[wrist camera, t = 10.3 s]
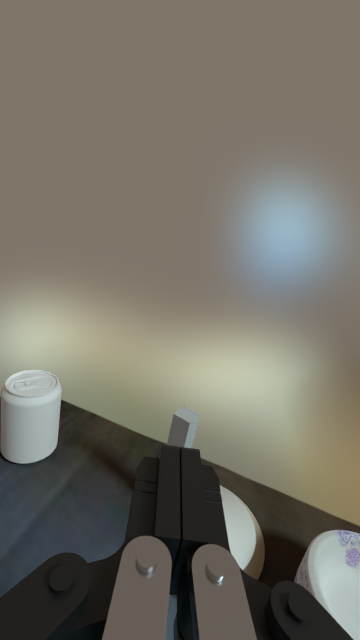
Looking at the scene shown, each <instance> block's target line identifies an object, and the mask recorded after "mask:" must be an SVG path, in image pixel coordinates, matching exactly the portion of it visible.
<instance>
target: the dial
mask: <svg viewBox="0 0 360 640" xmlns="http://www.w3.org/2000/svg"><path fill="white" fill-rule="evenodd" d="M199 416H200V415H199V414H197V413H196V412H194V411H192V410H190V409H188V408H187V407H185V406H184V407H182V408H181V409H180V410H178V411H177V412H175V413H174V415H173V419H172V424H171V429H170V433H169V438H168V442H167V445H171V446H178V447H179V448H180V447H185V448H192V444H193V440H194V436H195V432H196V428H197V424H198V420H199ZM220 494H221V497H222V505H223V510H224V516H225V522H226V529H227V535H228V542H229V547H230V551H231V554H232V555H233V557H234V558H235V560H236V561H237V563H238V565H239V567H240V568H241V569H242V570H243V571H245V570H246V568H247V567H248V565H249V563H250V561H251V558H252V556H253V553H254V550H255V545H256V533H255V527H254V524H253V521H252V518H251V516H250V514H249V512H248V511H247V509H246V508H245V506H244V505H243V504H242V502H241V501H240V500H239V499H238V498H237V497H236V496H235V495H234V494H232V493H231V492H230V491H228V490H227V489H225V488H224V487H222V486H220Z"/></svg>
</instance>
